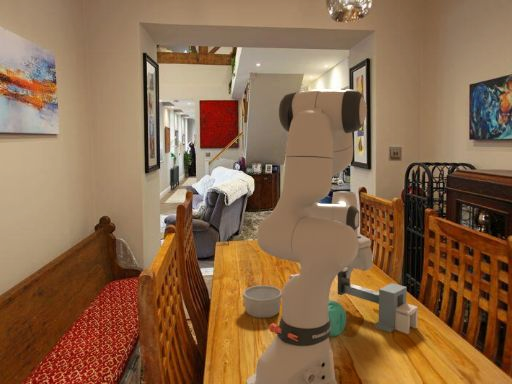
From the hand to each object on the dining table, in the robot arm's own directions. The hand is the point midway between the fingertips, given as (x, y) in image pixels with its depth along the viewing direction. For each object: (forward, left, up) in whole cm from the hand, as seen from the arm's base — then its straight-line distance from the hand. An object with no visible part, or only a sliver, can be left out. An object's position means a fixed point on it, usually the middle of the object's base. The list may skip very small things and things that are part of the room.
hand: (343, 277), depth 132 cm
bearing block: (0, -18, -11) cm, 21 cm away
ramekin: (-23, +17, -11) cm, 30 cm away
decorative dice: (-18, -7, -11) cm, 22 cm away
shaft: (0, -9, -6) cm, 11 cm away
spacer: (0, -23, -11) cm, 25 cm away
